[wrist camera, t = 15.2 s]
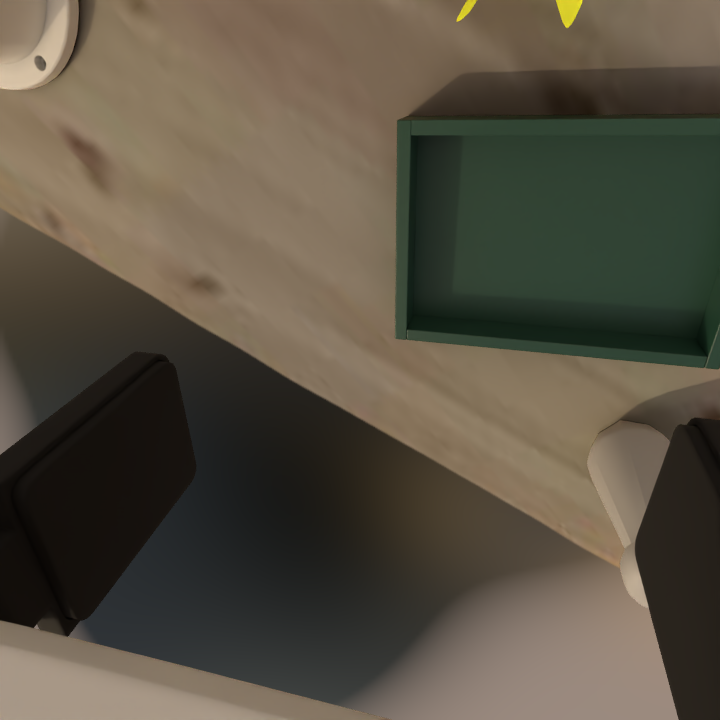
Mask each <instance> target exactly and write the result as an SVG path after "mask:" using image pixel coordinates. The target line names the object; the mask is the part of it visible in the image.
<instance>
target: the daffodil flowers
mask: <svg viewBox="0 0 720 720" xmlns="http://www.w3.org/2000/svg"><path fill="white" fill-rule="evenodd" d="M476 1H477V0H467V2H466V3H465V5H464V7H463V9H462V10H461V12H460V14H459V16H458V18H457V21H456V22H458V21H460V20H462V19H463V18H464V17H465V16H466V15H467V14H468V13H469V12H470V11H471V9H472V7H473V6H474V4H475V3H476ZM582 1H583V0H556V2H557V5H558V9H559V12H560V15H561V18H562V21H563V24H564V25H565V27H566V28H568V27H569V26H570V25H571V24H572V22H573V21H574V20H575V17H576V15H577V13H578V11H579V8H580V6H581V4H582Z"/></svg>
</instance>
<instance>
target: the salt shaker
mask: <svg viewBox="0 0 720 720" xmlns="http://www.w3.org/2000/svg"><path fill="white" fill-rule="evenodd" d="M669 444H670V441H669V440H668V439H667V438H666V437H665V436H664V435H663V434H662V433H660V432H659V431H657V430H656V429H654V428H653V427H651V426H649V425H647V424H641V423H635V422H629V421H622V420H620V421H618V422H617V423H615V424H613V425H612V426H610V427H608V428H607V429H605V430H603V431H602V432H600V433H599V434H598V435H597V437H596V439H595V441H594V443H593V444H592V447H591V450H590V453H589V457H588V460H587V466H588V469H589V472H590V476H591V479H592V481H593V483H594V485H595V488H596V490H597V492H598V494H599V496H600V498H601V500H602V502H603V504H604V506H605V508H606V511H607V513H608V515H609V517H610V519H611V521H612V523H613V525H614V527H615V529H616V531H617V534H618V536H619V538H620V540H621V542H622V544H623V546H624V548H625V550H624V552H623V555H622V558H621V561H620V568H621V574H622V577H623V581H624V584H625V587H626V589H627V592H628V594H629V595H630V596H631V597H632V598H634V600H635V601H637V602H638V603H639V604H640V605H642V606H644V607H647V608H649V607H648V603H647V599H646V595H645V592H644V588H643V584H642V581H641V577H640V573H639V569H638V566H637V562H636V557H635V540H636V536H637V533H638V530H639V528H640V525H641V522H642V519H643V516H644V514H645V511H646V508H647V505H648V503H649V500H650V497H651V494H652V491H653V489H654V486H655V483H656V480H657V478H658V475H659V472H660V469H661V466H662V464H663V461H664V458H665V455H666V453H667V450H668V447H669Z"/></svg>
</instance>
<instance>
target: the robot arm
mask: <svg viewBox="0 0 720 720" xmlns="http://www.w3.org/2000/svg"><path fill="white" fill-rule="evenodd" d="M78 19H79V6H78V0H0V88H2V89H11V90H24V89H34V88H37V87H40V86H43V85H46V84H47V83H49V82H50V81H51V80H53V79H54V78H56V77H57V76H58V74H59V73H60V72H61V71H62V70H63V68H64V67H65V66H66V64H67V62H68V60H69V58H70V56H71V54H72V52H73V48H74V44H75V40H76V37H77V31H78ZM195 472H196V461H195V456H194V452H193V447H192V442H191V438H190V433H189V428H188V423H187V419H186V414H185V409H184V405H183V401H182V396H181V391H180V387H179V381H178V377H177V372H176V368H175V366H174V365H173V364H172V363H170V362H169V360H168V359H167V357H166V356H164V355H162V354H154V353H146V352H134V353H133V354H131V355H129V356H128V357H127V358H125V359H124V360H123V361H122V362H120V363H119V364H118V365H116V366H115V367H114V368H112V369H111V370H110V371H109V372H107V373H106V374H105V375H103V376H102V377H101V378H100V379H98V380H97V381H96V382H94V383H93V384H92V385H90V386H89V387H88V388H86V389H85V390H84V391H83V392H81V393H80V394H79V395H77V396H76V397H75V398H73V399H72V400H71V401H70V402H68V403H67V404H66V405H64V406H63V407H62V408H60V409H59V410H58V411H57V412H55V413H54V414H53V415H51V416H50V417H49V418H48V419H46V420H45V421H44V422H42V423H41V424H40V425H39V426H37V427H36V428H35V429H33V430H32V431H31V432H29V433H28V434H27V435H25V436H24V437H23V438H21V439H20V440H19V441H18V442H16V443H15V444H14V445H12V446H11V447H10V448H8V449H7V450H6V451H5V452H3V453H2V454H1V455H0V720H391V719H387V718H383V717H379V716H375V715H372V714H368V713H364V712H360V711H356V710H352V709H348V708H344V707H340V706H337V705H333V704H329V703H325V702H321V701H317V700H314V699H310V698H306V697H302V696H298V695H294V694H290V693H286V692H283V691H279V690H274V689H271V688H267V687H263V686H259V685H256V684H252V683H248V682H244V681H240V680H236V679H232V678H228V677H224V676H221V675H217V674H212V673H209V672H205V671H201V670H197V669H193V668H189V667H185V666H181V665H178V664H174V663H169V662H166V661H162V660H158V659H154V658H150V657H146V656H142V655H138V654H134V653H130V652H126V651H122V650H118V649H114V648H110V647H106V646H102V645H98V644H94V643H90V642H86V641H82V640H78V639H74V638H71V637H68V636H69V635H70V633H71V632H72V631H73V629H74V628H75V627H76V625H77V624H78V623H79V621H80V620H85V619H87V618H88V617H89V616H90V615H91V614H92V613H93V612H94V611H95V609H96V608H97V607H98V605H99V604H100V603H101V601H102V600H103V599H104V597H105V596H106V595H107V593H108V592H109V591H110V589H111V588H112V587H113V585H114V584H115V583H116V581H117V580H118V579H119V577H120V576H121V575H122V573H123V572H124V571H125V569H126V568H127V567H128V566H129V564H130V563H131V561H132V560H133V559H134V558H135V556H136V555H137V554H138V552H139V551H140V550H141V548H142V547H143V546H144V544H145V543H146V542H147V540H148V539H149V538H150V536H151V535H152V534H153V532H154V531H155V529H156V528H157V527H158V526H159V524H160V523H161V522H162V520H163V519H164V518H165V516H166V515H167V514H168V512H169V511H170V510H171V508H172V507H173V506H174V504H175V503H176V502H177V501H178V499H179V498H180V497H181V495H182V494H183V493H184V491H185V490H186V489H187V487H188V485H190V483H191V482H192V480H193V478H194V476H195ZM635 557H636V562H637V566H638V569H639V573H640V577H641V581H642V584H643V588H644V592H645V595H646V599H647V603H648V607H649V610H650V614H651V618H652V622H653V625H654V629H655V633H656V636H657V640H658V644H659V648H660V651H661V655H662V659H663V663H664V666H665V670H666V674H667V678H668V681H669V685H670V689H671V692H672V696H673V700H674V703H675V707H676V711H677V715H678V719H679V720H720V420H711V419H703V418H693V419H691V420H690V421H689V422H688V424H687V425H678V426H677V427H676V429H675V431H674V433H673V436H672V439H671V441H670V444H669V447H668V450H667V453H666V455H665V458H664V461H663V464H662V466H661V469H660V472H659V475H658V478H657V480H656V483H655V486H654V489H653V491H652V494H651V497H650V500H649V503H648V505H647V508H646V511H645V514H644V516H643V519H642V522H641V525H640V528H639V530H638V533H637V536H636V540H635ZM36 624H37V625H38V627H39V629H40V630H39V629H35V628H34V627H35V626H36Z"/></svg>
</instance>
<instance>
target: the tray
mask: <svg viewBox="0 0 720 720" xmlns="http://www.w3.org/2000/svg"><path fill="white" fill-rule="evenodd" d="M395 339H404V340H406V339H407V340H415V341H426V342H436V343H447V344H457V345H468V346H478V347H489V348H499V349H510V350H520V351H531V352H541V353H551V354H562V355H572V356H583V357H593V358H604V359H614V360H625V361H635V362H646V363H656V364H667V365H677V366H688V367H698V368H709V369H719V368H720V114H627V115H498V116H406V117H404V118H402V119H399V120H398V121H397V202H396V299H395Z"/></svg>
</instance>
